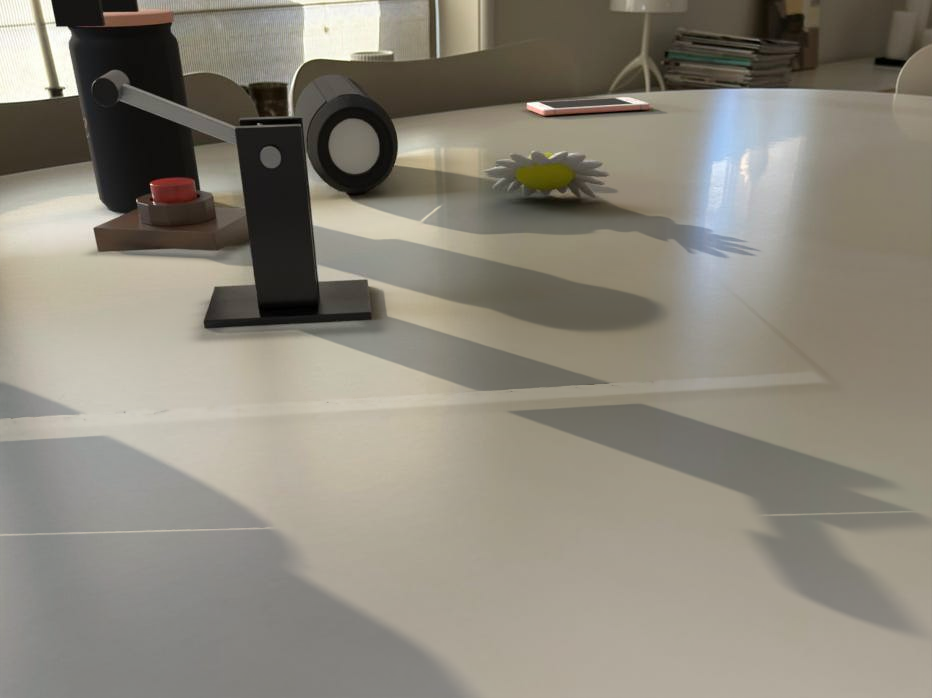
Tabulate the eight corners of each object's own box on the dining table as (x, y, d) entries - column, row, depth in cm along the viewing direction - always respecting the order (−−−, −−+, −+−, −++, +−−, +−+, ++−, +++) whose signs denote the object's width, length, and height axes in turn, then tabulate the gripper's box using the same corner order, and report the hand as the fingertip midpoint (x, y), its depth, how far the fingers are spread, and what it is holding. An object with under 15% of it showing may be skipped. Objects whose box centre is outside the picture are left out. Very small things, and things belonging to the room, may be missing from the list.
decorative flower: (478, 186, 131) (484, 202, 104) (479, 143, 129) (486, 148, 102) (580, 190, 132) (612, 207, 105) (583, 147, 130) (617, 153, 103)
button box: (97, 252, 98) (88, 206, 95) (149, 227, 106) (142, 184, 103) (218, 258, 95) (211, 211, 93) (261, 232, 103) (256, 188, 101)
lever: (88, 106, 69) (95, 67, 68) (101, 96, 73) (108, 60, 72) (286, 181, 73) (295, 146, 72) (288, 168, 77) (297, 134, 76)
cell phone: (650, 109, 169) (650, 103, 168) (543, 116, 165) (543, 109, 164) (628, 103, 176) (628, 96, 176) (525, 109, 172) (525, 102, 172)
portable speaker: (403, 196, 117) (398, 94, 111) (313, 201, 115) (303, 99, 109) (374, 157, 137) (368, 70, 132) (297, 161, 136) (288, 73, 130)
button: (145, 205, 97) (141, 185, 96) (165, 196, 100) (162, 176, 99) (185, 207, 96) (182, 186, 95) (204, 198, 100) (201, 178, 99)
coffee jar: (146, 192, 121) (114, 8, 111) (222, 199, 117) (195, 9, 107) (79, 211, 113) (37, 15, 103) (157, 219, 109) (122, 16, 99)
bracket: (205, 337, 76) (173, 134, 69) (216, 301, 84) (188, 115, 76) (372, 328, 77) (357, 128, 70) (368, 294, 85) (355, 110, 77)
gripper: (40, -518, 47) (130, 32, 59) (127, -381, 68) (181, 6, 79) (-138, -523, 46) (-10, 34, 58) (6, -383, 67) (79, 7, 79)
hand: (101, 19), depth 69 cm, fingers open, 13 cm apart
